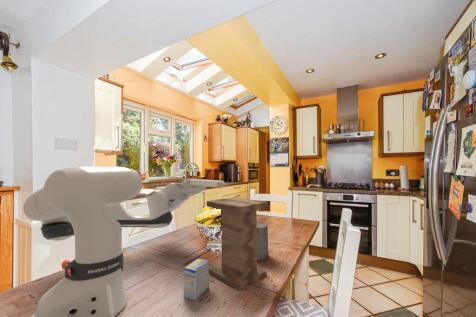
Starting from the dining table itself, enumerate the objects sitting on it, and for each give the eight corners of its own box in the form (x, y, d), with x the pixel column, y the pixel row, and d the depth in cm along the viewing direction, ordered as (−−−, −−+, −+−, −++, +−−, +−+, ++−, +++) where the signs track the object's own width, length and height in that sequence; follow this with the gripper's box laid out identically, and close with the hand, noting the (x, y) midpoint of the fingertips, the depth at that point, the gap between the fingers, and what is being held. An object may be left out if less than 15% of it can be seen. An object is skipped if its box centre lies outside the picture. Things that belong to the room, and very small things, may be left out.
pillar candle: (258, 250, 103) (257, 217, 104) (273, 257, 96) (272, 221, 96) (241, 255, 98) (240, 221, 98) (255, 263, 90) (255, 225, 90)
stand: (240, 291, 69) (239, 207, 70) (206, 271, 83) (206, 201, 84) (269, 276, 79) (268, 202, 80) (235, 260, 92) (234, 197, 93)
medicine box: (197, 284, 74) (197, 258, 74) (209, 287, 72) (209, 259, 72) (183, 297, 66) (183, 268, 67) (196, 301, 65) (196, 270, 65)
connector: (220, 187, 87) (220, 181, 87) (186, 184, 106) (186, 179, 106) (227, 187, 89) (227, 181, 89) (192, 183, 108) (192, 178, 108)
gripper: (199, 197, 119) (213, 185, 110) (162, 201, 105) (175, 188, 97) (196, 186, 121) (209, 174, 113) (160, 189, 108) (171, 175, 99)
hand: (193, 180), depth 105 cm, fingers closed on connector, 4 cm apart
